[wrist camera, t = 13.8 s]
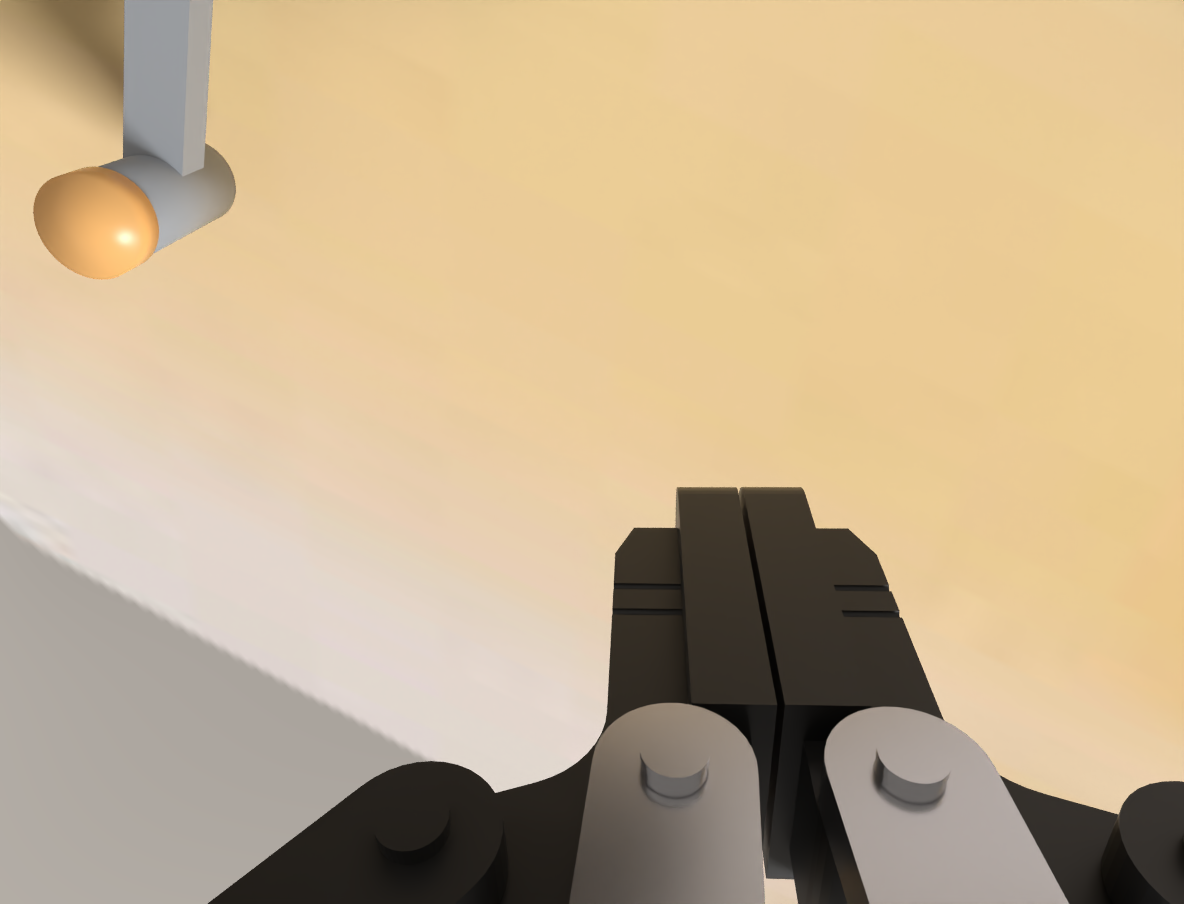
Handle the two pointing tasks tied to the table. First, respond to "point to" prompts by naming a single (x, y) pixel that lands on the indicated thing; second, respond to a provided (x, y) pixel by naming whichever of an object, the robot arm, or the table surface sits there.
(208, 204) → the orange knob lever
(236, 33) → the table surface
